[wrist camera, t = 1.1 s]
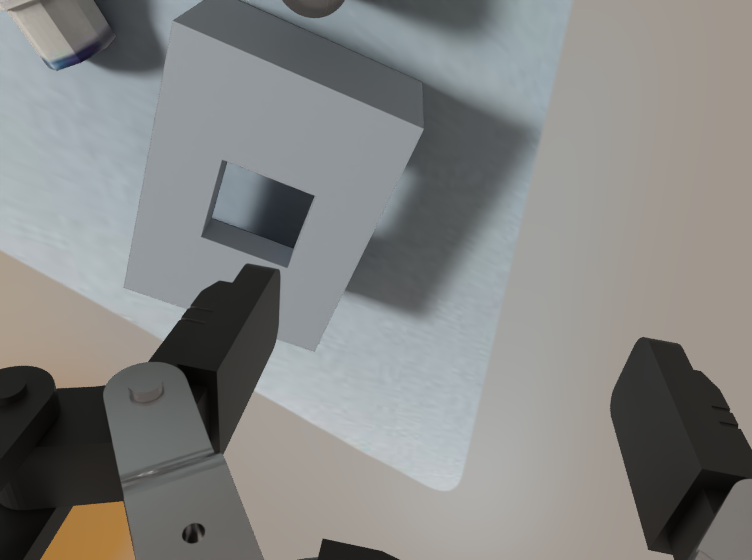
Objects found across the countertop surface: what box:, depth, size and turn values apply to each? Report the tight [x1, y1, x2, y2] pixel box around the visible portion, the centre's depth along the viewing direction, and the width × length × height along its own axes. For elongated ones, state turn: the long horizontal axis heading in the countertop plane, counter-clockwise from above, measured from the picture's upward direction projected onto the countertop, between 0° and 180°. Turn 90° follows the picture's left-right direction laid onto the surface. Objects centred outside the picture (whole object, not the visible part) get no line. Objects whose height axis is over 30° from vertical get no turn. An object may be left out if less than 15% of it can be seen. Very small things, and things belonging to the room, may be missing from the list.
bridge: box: [124, 0, 424, 352], centre depth 33 cm, size 12×16×7 cm
